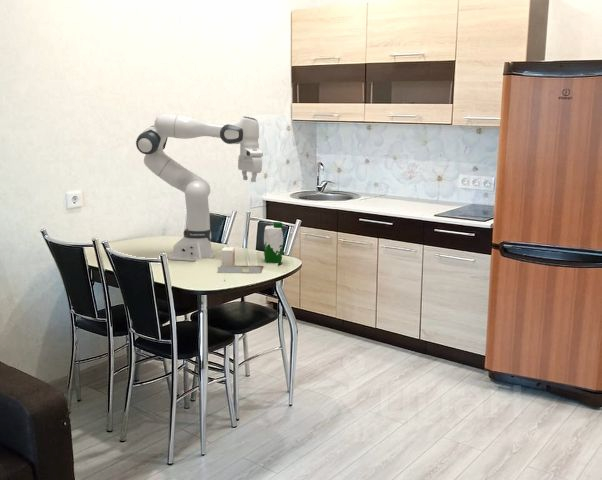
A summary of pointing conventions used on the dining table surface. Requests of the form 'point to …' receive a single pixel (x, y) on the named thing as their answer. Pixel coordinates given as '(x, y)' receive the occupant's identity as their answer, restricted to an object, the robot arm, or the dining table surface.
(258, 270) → the rail
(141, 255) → the dining table surface
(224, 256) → the carton
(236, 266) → the shelf board
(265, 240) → the milk carton
